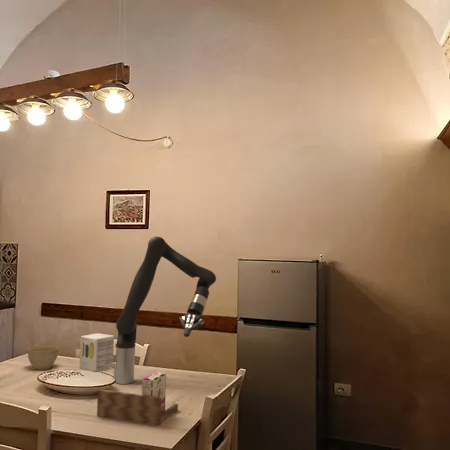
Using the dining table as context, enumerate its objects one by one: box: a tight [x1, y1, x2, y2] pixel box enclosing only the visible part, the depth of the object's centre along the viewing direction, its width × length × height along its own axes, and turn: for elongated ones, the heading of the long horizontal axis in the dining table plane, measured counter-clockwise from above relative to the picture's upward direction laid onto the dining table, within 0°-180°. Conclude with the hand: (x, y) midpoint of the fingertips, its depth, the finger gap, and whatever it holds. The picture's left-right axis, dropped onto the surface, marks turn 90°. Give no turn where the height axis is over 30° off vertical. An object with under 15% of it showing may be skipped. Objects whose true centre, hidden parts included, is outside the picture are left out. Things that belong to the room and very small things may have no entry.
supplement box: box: [79, 332, 115, 372], centre depth 259 cm, size 13×13×18 cm
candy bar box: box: [141, 371, 167, 414], centre depth 186 cm, size 11×5×16 cm, turn 159°
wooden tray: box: [96, 389, 179, 426], centre depth 190 cm, size 27×18×10 cm, turn 72°
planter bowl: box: [27, 344, 60, 371], centre depth 256 cm, size 16×16×11 cm
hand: (185, 336), depth 220 cm, fingers closed
